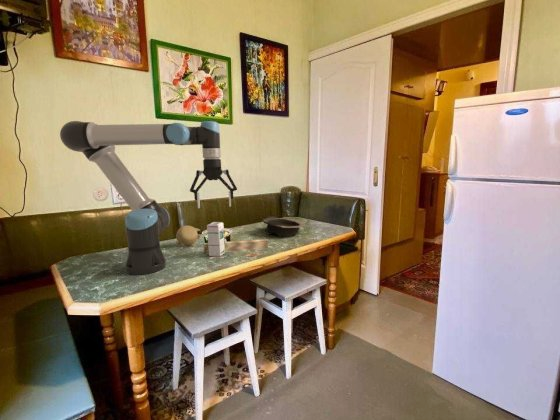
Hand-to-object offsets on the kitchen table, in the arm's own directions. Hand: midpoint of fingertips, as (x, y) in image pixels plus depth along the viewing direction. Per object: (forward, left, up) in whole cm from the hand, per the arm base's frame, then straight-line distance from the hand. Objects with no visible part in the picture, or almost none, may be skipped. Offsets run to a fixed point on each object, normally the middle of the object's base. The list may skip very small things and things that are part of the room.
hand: (214, 207), depth 135 cm
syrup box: (0, 0, -22) cm, 22 cm away
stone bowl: (+37, +30, -22) cm, 53 cm away
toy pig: (-14, +17, -22) cm, 31 cm away
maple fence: (+9, 0, -22) cm, 24 cm away
